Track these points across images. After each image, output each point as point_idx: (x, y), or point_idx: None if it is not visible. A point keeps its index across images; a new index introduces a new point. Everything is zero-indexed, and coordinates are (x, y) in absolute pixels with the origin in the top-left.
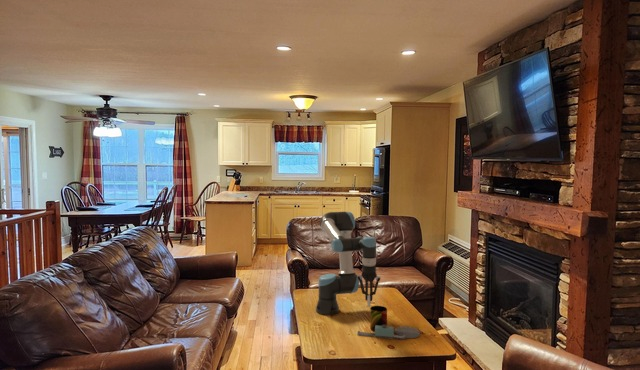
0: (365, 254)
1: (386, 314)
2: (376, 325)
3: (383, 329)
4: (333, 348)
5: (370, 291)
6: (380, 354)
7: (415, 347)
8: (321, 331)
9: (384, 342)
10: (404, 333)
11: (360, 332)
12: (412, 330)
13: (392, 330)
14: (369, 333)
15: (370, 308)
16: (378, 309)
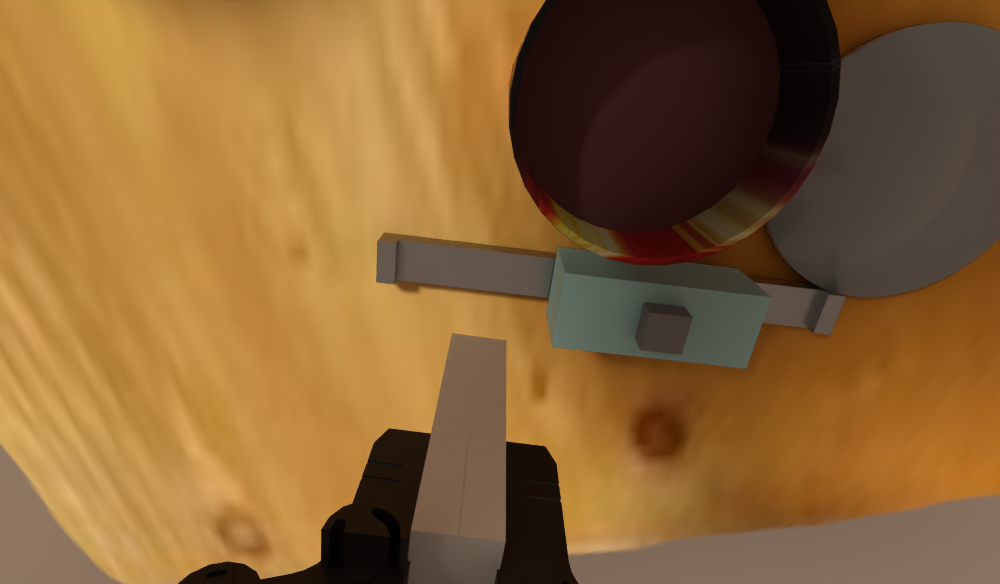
0: None
1: (767, 167)
2: (576, 279)
3: (641, 353)
4: (234, 491)
5: None
6: (565, 534)
7: (851, 432)
8: (18, 222)
9: (619, 379)
10: (857, 224)
11: (405, 252)
12: (981, 138)
13: (733, 362)
14: (496, 267)
15: (511, 115)
16: None
